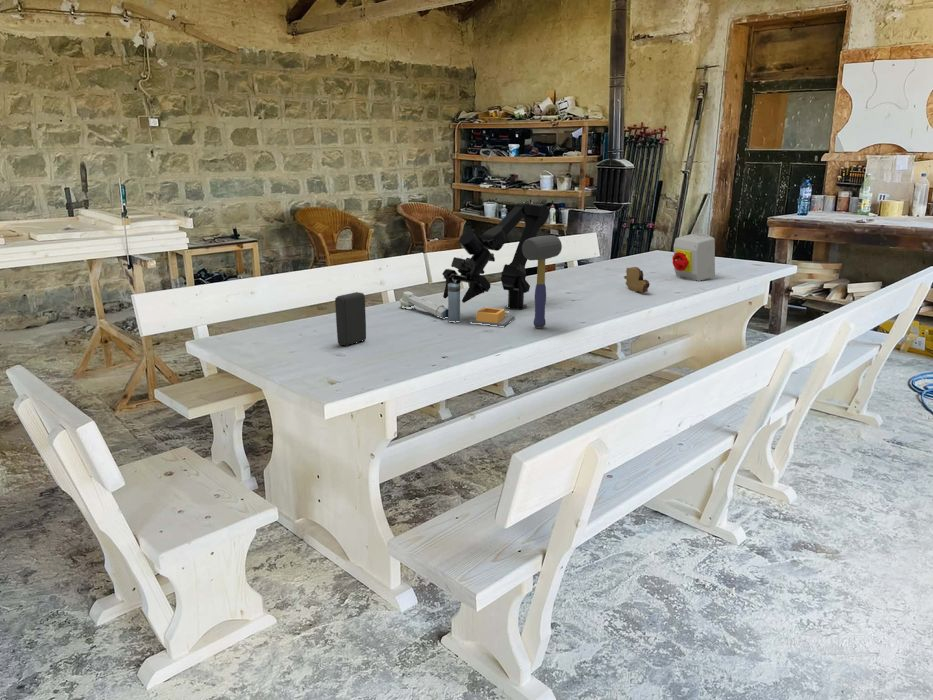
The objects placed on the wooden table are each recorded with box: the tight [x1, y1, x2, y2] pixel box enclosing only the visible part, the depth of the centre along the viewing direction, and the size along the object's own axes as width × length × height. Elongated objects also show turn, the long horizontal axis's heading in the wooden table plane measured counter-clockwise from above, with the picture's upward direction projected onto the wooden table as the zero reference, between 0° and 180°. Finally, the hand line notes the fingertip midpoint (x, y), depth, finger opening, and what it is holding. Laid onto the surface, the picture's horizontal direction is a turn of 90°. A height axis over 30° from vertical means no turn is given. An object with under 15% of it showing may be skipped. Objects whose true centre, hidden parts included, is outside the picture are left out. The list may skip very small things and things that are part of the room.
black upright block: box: [334, 291, 367, 346], centre depth 208 cm, size 9×4×15 cm, turn 141°
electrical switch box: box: [671, 232, 716, 282], centre depth 306 cm, size 15×15×20 cm
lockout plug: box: [447, 282, 461, 322], centre depth 233 cm, size 4×4×13 cm
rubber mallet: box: [522, 234, 563, 329], centre depth 223 cm, size 12×8×30 cm, turn 133°
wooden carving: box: [623, 266, 651, 294], centre depth 281 cm, size 16×5×10 cm, turn 22°
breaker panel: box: [469, 307, 516, 327], centre depth 234 cm, size 12×12×4 cm
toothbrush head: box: [399, 290, 448, 318], centre depth 246 cm, size 5×7×25 cm
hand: (453, 299), depth 232 cm, fingers open, 9 cm apart
